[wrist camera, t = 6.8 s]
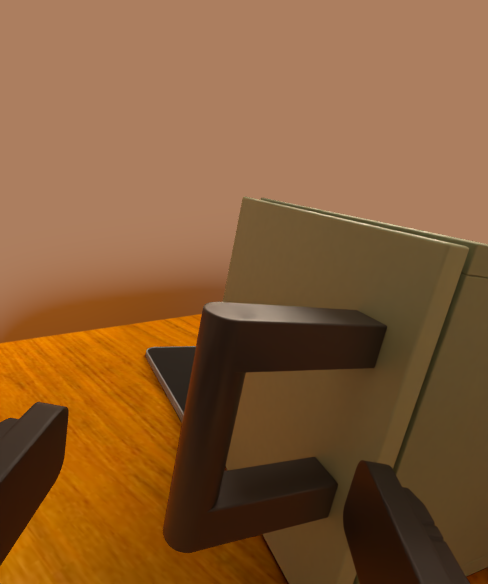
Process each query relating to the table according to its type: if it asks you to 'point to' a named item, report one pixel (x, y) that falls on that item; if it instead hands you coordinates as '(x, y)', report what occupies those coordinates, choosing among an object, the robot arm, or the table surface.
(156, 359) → the smartphone
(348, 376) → the cupboard door
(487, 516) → the cupboard
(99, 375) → the table surface
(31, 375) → the table surface
